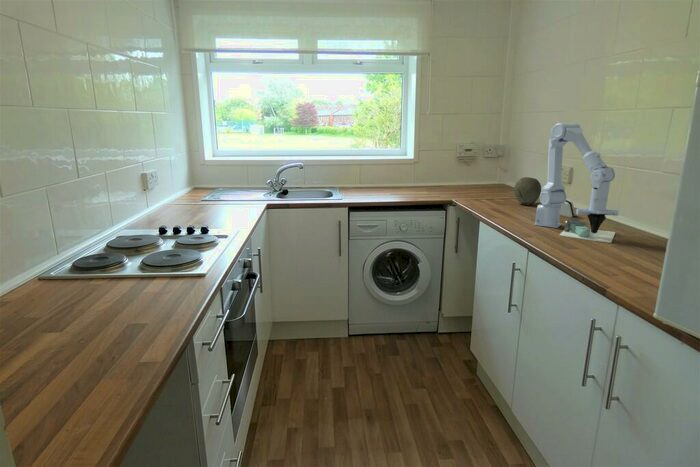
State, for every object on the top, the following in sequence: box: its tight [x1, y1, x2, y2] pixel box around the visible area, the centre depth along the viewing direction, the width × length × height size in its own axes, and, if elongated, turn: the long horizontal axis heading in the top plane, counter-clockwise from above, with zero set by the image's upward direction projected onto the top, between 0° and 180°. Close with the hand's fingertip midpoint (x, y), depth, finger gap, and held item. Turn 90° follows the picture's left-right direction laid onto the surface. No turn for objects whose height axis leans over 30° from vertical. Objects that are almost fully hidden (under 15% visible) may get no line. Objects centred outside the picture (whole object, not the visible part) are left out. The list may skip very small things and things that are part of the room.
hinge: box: [560, 198, 578, 218], centre depth 210 cm, size 17×5×10 cm, turn 28°
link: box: [570, 224, 591, 237], centre depth 174 cm, size 17×5×2 cm, turn 170°
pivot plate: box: [559, 217, 616, 244], centre depth 172 cm, size 18×18×5 cm
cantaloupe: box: [513, 176, 542, 206], centre depth 234 cm, size 14×14×15 cm
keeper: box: [563, 220, 586, 232], centre depth 175 cm, size 7×2×4 cm, turn 67°
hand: (593, 232), depth 168 cm, fingers closed
